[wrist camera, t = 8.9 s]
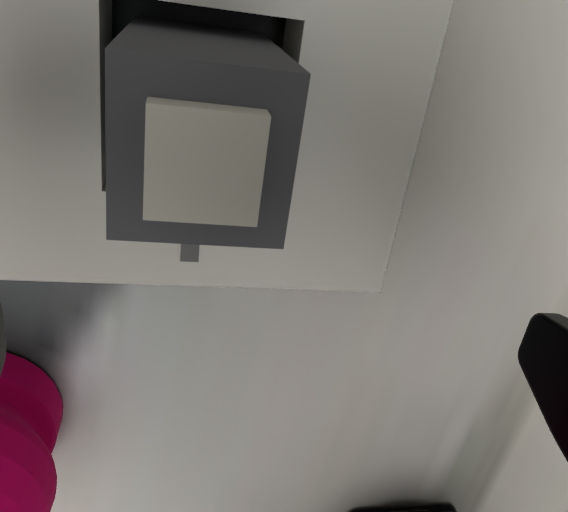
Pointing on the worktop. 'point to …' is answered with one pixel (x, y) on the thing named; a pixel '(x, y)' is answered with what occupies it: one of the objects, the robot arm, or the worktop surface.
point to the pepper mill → (27, 436)
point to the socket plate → (310, 165)
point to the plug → (200, 135)
